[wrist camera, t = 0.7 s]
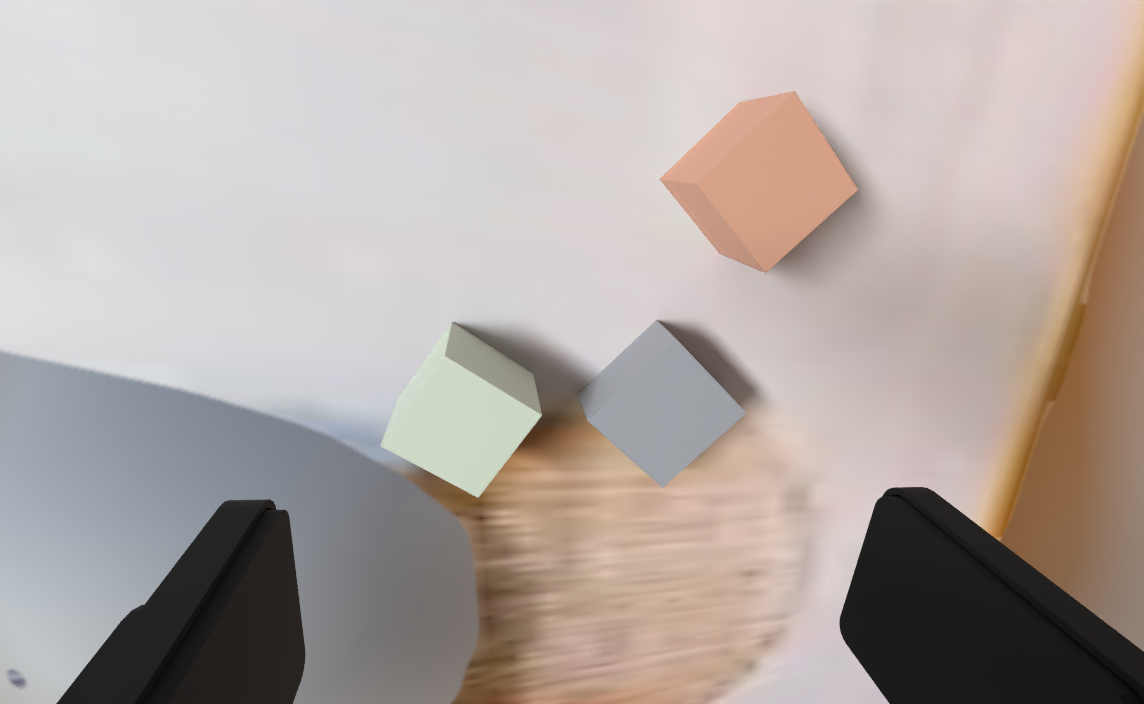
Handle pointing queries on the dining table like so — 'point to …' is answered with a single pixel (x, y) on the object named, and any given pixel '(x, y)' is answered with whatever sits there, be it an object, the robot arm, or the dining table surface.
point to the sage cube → (463, 411)
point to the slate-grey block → (659, 405)
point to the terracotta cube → (760, 180)
